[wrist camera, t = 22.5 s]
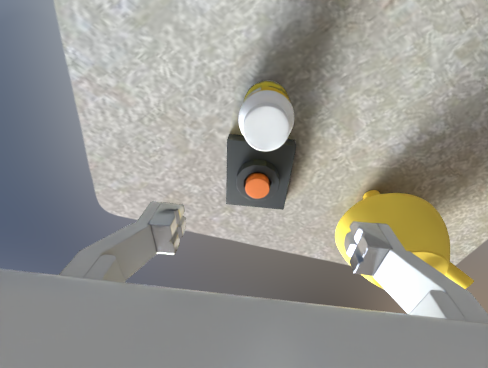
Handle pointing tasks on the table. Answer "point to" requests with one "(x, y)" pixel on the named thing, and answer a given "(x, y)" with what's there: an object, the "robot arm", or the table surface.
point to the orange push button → (257, 185)
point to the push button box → (255, 161)
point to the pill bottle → (266, 116)
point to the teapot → (405, 229)
